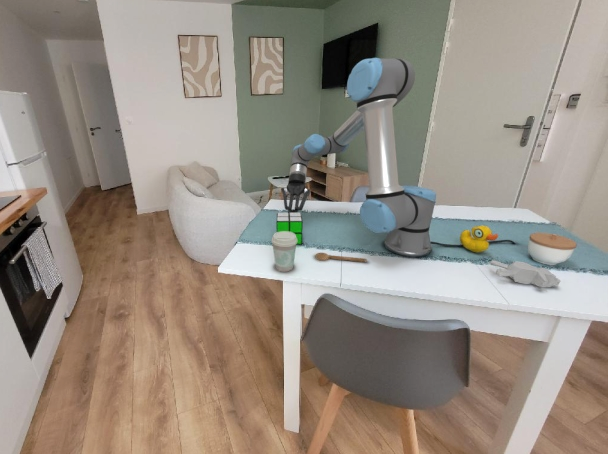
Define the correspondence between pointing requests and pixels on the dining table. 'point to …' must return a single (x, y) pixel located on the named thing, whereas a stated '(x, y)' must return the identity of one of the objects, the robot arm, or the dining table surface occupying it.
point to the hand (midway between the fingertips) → (291, 224)
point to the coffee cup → (284, 250)
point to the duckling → (477, 238)
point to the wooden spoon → (337, 257)
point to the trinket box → (550, 248)
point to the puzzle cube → (290, 224)
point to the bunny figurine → (527, 274)
